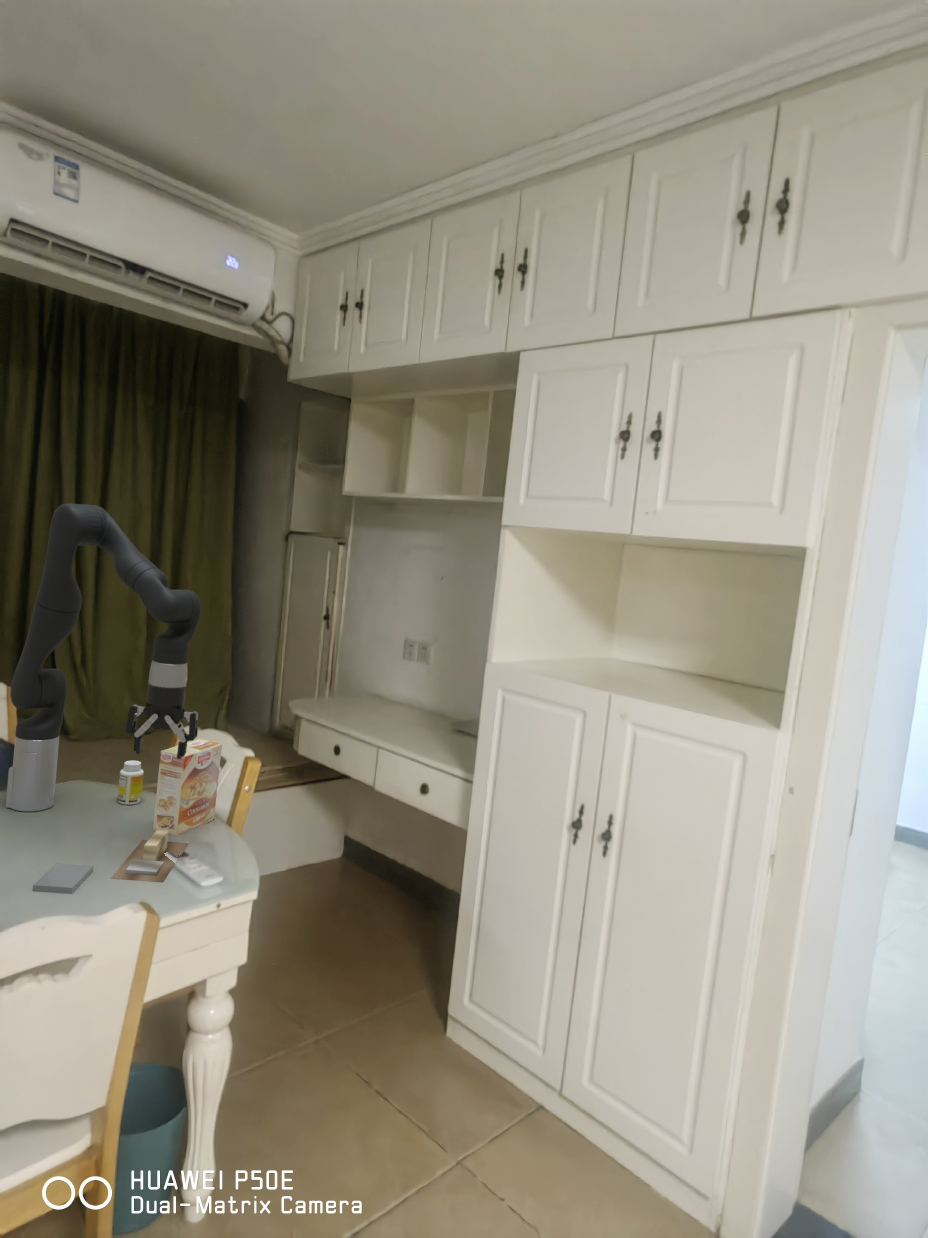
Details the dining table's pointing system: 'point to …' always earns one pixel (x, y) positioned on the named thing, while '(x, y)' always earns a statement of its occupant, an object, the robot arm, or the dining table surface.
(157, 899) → the dining table surface
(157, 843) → the turner
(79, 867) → the glazed tile
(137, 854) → the board
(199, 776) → the coffeecake box
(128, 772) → the supplement bottle
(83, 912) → the dining table surface
